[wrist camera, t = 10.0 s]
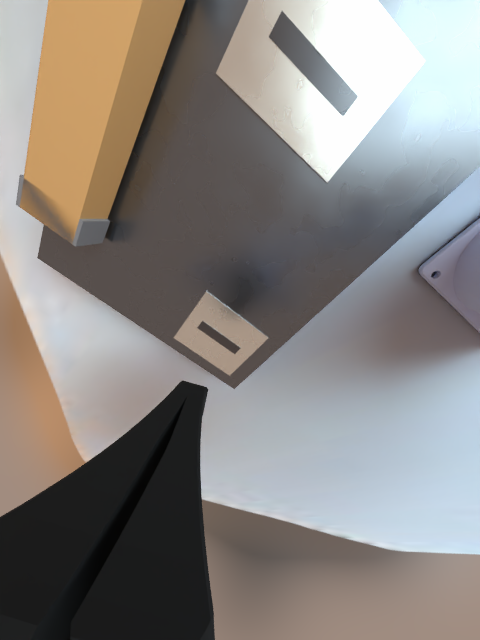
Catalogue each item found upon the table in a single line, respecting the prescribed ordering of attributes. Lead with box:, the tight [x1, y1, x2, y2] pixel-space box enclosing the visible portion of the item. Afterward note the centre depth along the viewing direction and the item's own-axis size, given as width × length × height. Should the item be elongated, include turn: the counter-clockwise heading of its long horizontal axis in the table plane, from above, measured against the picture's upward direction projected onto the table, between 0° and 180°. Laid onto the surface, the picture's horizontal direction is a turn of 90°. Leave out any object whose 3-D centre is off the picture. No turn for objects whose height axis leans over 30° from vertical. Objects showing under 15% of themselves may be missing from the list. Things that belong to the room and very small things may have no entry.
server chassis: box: [38, 0, 480, 389], centre depth 12 cm, size 18×22×3 cm
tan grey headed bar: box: [16, 0, 185, 247], centre depth 9 cm, size 15×4×2 cm, turn 143°
